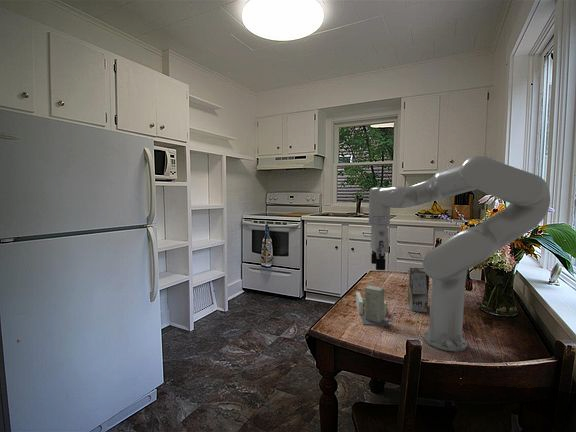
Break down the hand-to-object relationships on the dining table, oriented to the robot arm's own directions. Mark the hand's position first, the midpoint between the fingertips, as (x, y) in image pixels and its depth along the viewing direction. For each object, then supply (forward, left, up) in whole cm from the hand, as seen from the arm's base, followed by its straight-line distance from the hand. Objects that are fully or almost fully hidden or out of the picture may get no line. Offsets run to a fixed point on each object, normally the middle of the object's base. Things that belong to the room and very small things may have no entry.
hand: (377, 266), depth 114 cm
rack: (+11, +1, -20) cm, 23 cm away
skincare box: (0, +1, -20) cm, 20 cm away
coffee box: (+16, -19, -21) cm, 32 cm away
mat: (0, +1, -21) cm, 21 cm away
